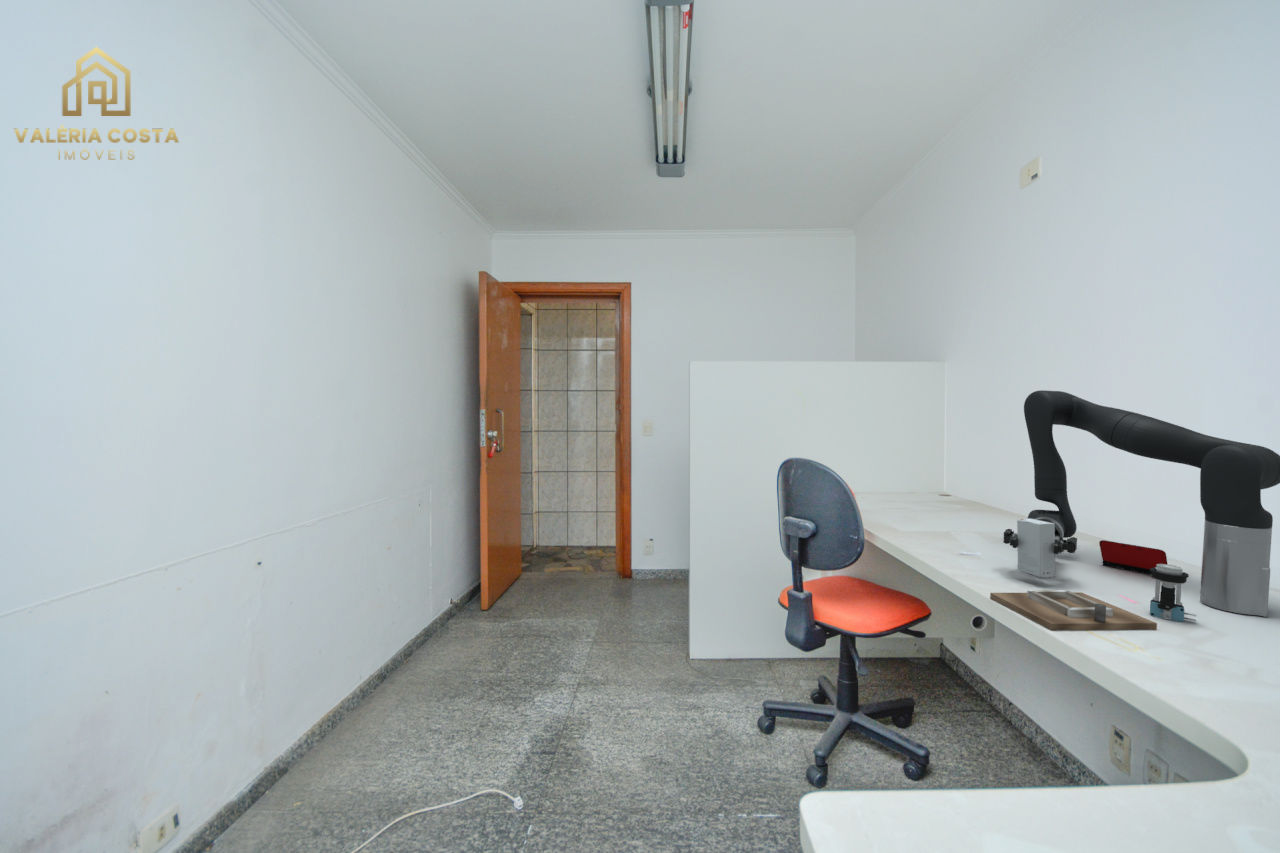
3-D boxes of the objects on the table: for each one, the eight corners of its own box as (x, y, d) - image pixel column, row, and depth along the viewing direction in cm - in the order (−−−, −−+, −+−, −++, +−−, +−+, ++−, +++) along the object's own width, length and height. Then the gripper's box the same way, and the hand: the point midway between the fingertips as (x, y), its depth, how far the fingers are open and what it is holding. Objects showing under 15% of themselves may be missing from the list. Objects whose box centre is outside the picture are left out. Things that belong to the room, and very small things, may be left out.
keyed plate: (1081, 598, 115) (1082, 578, 115) (1156, 629, 99) (1157, 606, 99) (990, 598, 114) (991, 578, 114) (1051, 630, 98) (1052, 607, 98)
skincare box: (1056, 576, 122) (1057, 523, 121) (1039, 578, 121) (1041, 524, 120) (1030, 568, 128) (1032, 517, 127) (1015, 570, 127) (1016, 518, 126)
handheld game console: (1176, 574, 134) (1178, 544, 133) (1163, 581, 128) (1165, 550, 127) (1111, 561, 144) (1113, 533, 144) (1097, 568, 138) (1098, 539, 138)
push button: (1194, 619, 104) (1197, 568, 104) (1197, 627, 100) (1200, 574, 100) (1147, 610, 109) (1150, 560, 108) (1147, 617, 105) (1150, 566, 104)
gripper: (1009, 514, 139) (997, 525, 127) (1081, 523, 130) (1076, 535, 118) (1008, 543, 140) (996, 556, 127) (1080, 554, 130) (1074, 569, 118)
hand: (1034, 546), depth 123 cm, fingers closed on skincare box, 7 cm apart
